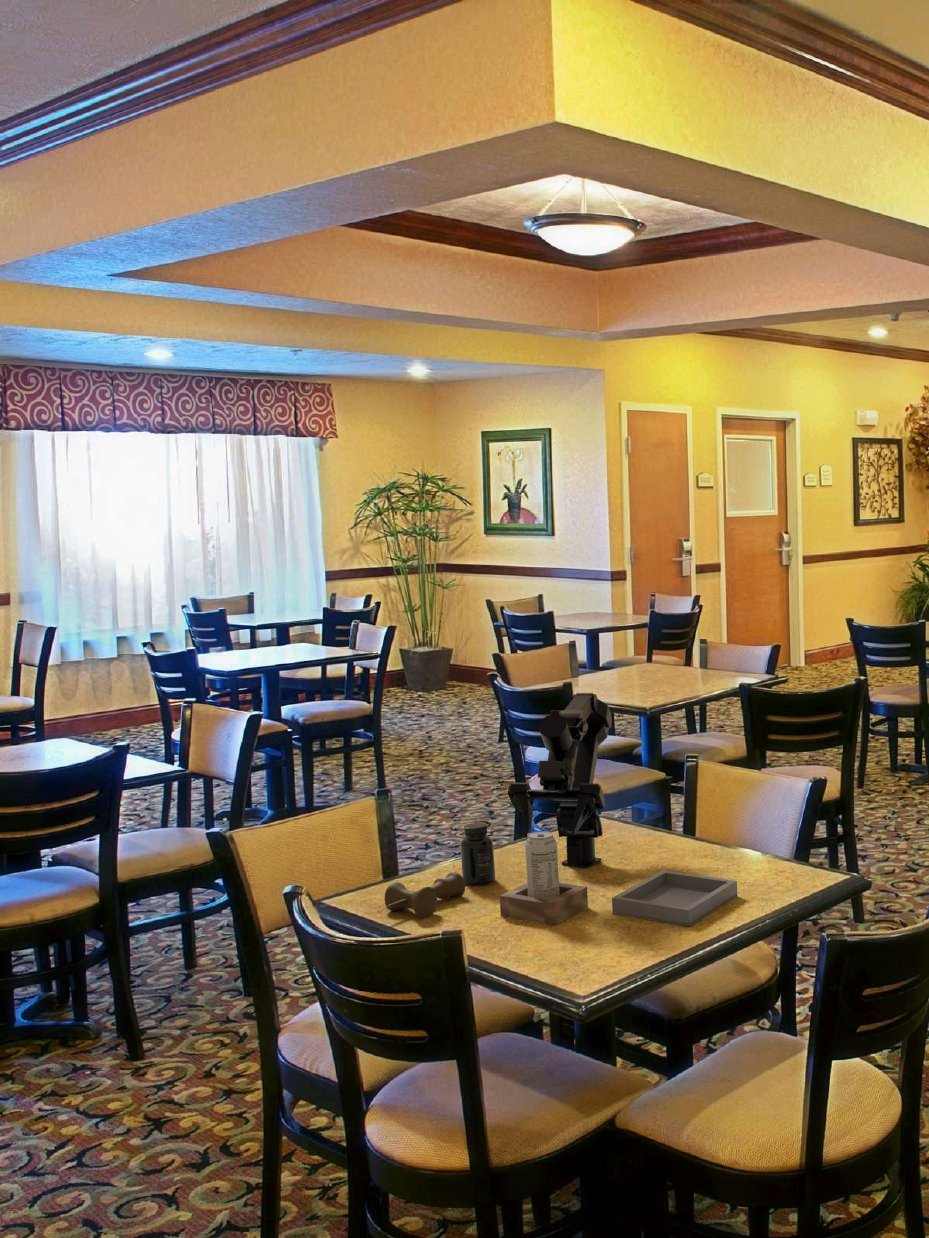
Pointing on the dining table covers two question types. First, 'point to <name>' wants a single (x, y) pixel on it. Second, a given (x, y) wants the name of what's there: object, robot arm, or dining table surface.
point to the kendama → (424, 895)
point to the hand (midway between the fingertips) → (550, 832)
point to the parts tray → (675, 898)
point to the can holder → (544, 904)
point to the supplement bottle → (477, 855)
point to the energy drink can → (542, 865)
